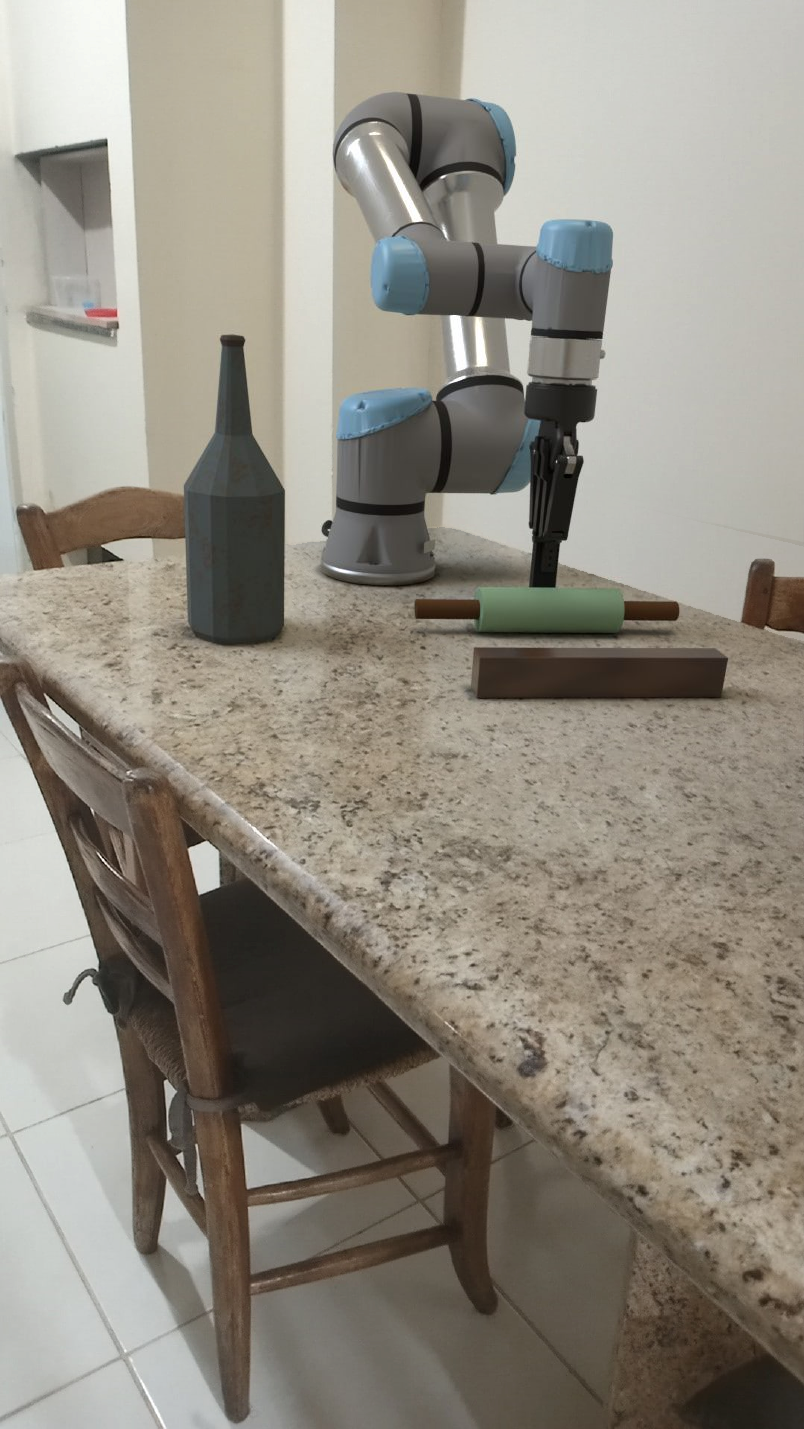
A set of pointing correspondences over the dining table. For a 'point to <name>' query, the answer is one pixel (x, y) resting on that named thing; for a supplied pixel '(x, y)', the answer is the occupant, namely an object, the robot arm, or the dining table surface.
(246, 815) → the dining table surface
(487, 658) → the bar
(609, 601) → the rolling pin
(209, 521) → the bottle
